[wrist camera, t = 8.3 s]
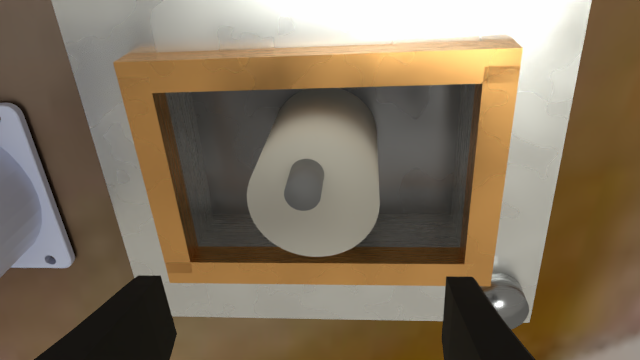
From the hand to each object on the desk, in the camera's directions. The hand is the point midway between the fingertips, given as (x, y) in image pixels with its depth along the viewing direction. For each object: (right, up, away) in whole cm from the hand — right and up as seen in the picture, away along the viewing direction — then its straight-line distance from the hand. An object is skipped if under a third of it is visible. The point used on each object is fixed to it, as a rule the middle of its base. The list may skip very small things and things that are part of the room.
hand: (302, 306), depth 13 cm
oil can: (+1, +5, +7) cm, 8 cm away
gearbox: (+1, +5, +7) cm, 9 cm away
